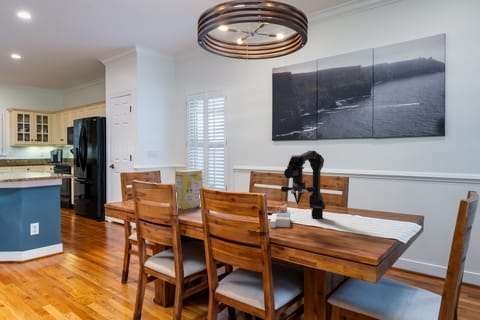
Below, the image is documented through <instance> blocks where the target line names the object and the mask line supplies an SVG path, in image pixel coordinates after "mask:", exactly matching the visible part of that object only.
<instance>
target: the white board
mask: <svg viewBox="0 0 480 320" xmlns="http://www.w3.org/2000/svg"><path fill="white" fill-rule="evenodd" d="M276 216H277V213H272V214H271V217H270V222H269V228H276Z"/></svg>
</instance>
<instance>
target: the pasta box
mask: <svg viewBox="0 0 480 320" xmlns="http://www.w3.org/2000/svg"><path fill="white" fill-rule="evenodd" d="M174 172H175V173H174V177H175V178H174V182H175V183H174V185H176V192H177V204H178V208H177V209H180V208H181V209H180V210H189V209H193V208H198V207H197V206H200V198H199V188H203V170H201V169H200V170H199V169H188V170H187V169H186V170H175V171H174ZM200 207H201V206H200ZM188 208H189V209H188Z"/></svg>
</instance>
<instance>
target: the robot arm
mask: <svg viewBox="0 0 480 320" xmlns="http://www.w3.org/2000/svg"><path fill="white" fill-rule="evenodd" d="M306 161H308V162H309V165H310V169H311V170H312V186H310V185H309V186H307V185H306V182H303V169H305V167H304V165H305V164H306ZM324 163H325V159H324V157H323V156H322V155H321V154H320V153H318V152H317V151H316V150H307V151H306V152H304V153H301V154H295V155H294V154H293V155H291V157H290V159H289V161H288V165H287V166H286V167H287V168H285V170H284V171H283V174H284V177H285V179H292V186H291V187H289V186H288V185H281V187H280V192H283V193H285V192H286V193H287V192H288V191H290V192H291V194H292V195H293V196H294V199H295V202H296V204H298V205H299V203H300V199H301V197H302V195H303V194H305V192H306V191H307V192H308V193H311V194H310V195H309V198H308V203H309V209H311V218H312V219H315V220H316V219H320V220H321V219H322V220H323V219H324V217H323V216H324V214H323V213H324V210H325V209H326V203H325V202H324V198H323V195H322V194H321V176H322V175H321V173H322V172H321V171H322V168H323V167H324ZM297 192H298V194H297Z"/></svg>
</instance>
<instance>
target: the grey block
mask: <svg viewBox="0 0 480 320" xmlns="http://www.w3.org/2000/svg"><path fill="white" fill-rule="evenodd" d="M276 227H280V228H282V227H283V228H290V227H291V216H290V217H283V216H276ZM276 227H275V228H276Z"/></svg>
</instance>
